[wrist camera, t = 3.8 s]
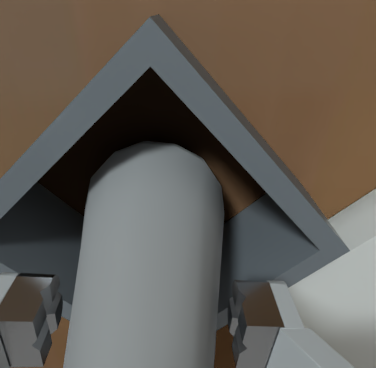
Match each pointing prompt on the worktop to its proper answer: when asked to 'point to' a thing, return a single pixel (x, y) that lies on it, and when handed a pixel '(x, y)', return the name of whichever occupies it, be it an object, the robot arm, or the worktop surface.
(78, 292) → the salt shaker
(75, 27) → the worktop surface
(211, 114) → the hollow square frame
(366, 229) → the tray
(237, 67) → the worktop surface
